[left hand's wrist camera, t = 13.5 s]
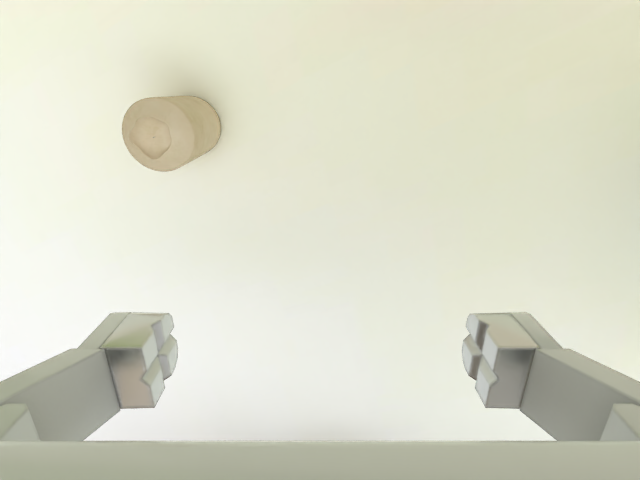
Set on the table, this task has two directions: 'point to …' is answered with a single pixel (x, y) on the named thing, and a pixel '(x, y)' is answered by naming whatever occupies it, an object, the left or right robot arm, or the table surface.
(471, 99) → the table surface
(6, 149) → the table surface
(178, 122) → the candle
